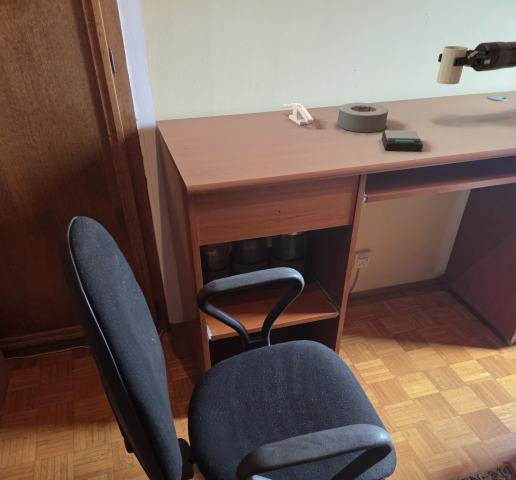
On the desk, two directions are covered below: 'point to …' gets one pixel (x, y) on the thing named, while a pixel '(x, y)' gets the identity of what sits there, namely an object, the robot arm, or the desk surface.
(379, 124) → the tape roll
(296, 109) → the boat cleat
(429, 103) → the desk surface
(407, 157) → the desk surface
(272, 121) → the desk surface
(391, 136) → the scale
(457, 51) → the cup
